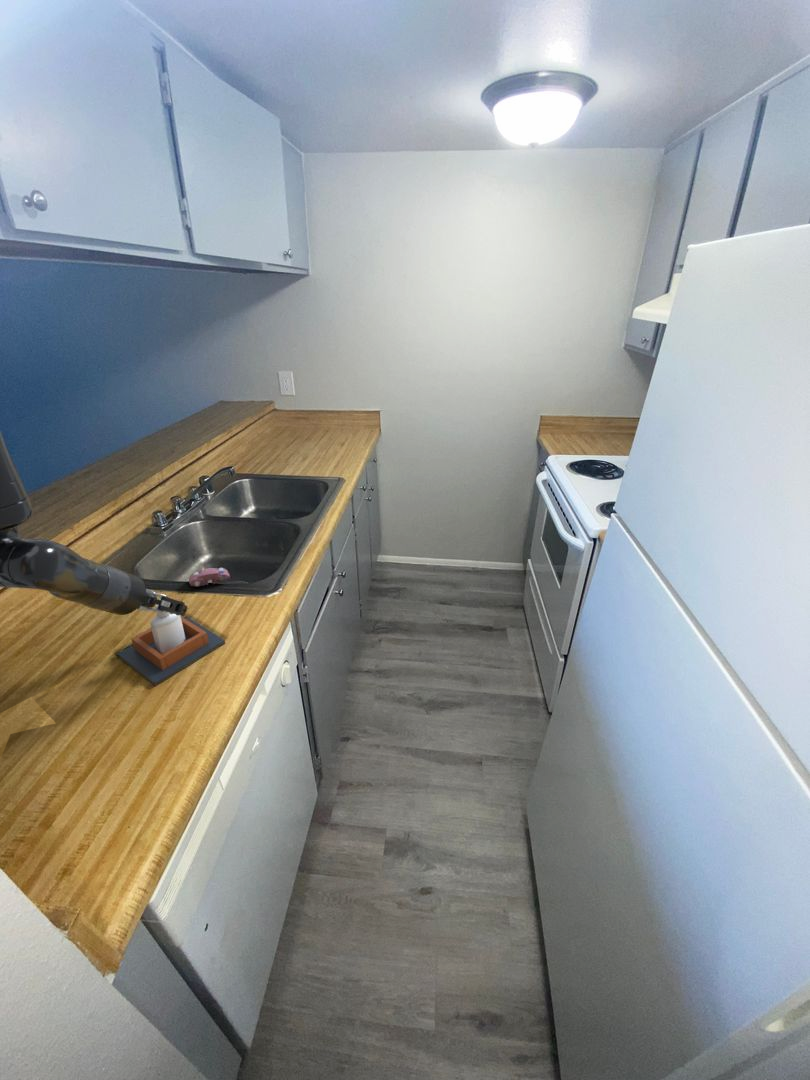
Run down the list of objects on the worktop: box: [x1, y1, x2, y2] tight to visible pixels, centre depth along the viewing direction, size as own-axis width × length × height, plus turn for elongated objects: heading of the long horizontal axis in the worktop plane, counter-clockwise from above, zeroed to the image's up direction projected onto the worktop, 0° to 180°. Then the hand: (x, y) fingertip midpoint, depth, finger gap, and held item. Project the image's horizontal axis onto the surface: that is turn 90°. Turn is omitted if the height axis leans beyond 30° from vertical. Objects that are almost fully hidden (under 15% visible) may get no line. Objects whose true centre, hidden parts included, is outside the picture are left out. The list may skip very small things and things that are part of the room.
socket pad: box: [116, 616, 226, 687], centre depth 100 cm, size 16×14×4 cm
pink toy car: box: [188, 567, 231, 588], centre depth 121 cm, size 10×5×7 cm, turn 114°
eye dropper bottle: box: [150, 598, 186, 654], centre depth 97 cm, size 4×6×12 cm
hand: (166, 607), depth 97 cm, fingers open, 8 cm apart
